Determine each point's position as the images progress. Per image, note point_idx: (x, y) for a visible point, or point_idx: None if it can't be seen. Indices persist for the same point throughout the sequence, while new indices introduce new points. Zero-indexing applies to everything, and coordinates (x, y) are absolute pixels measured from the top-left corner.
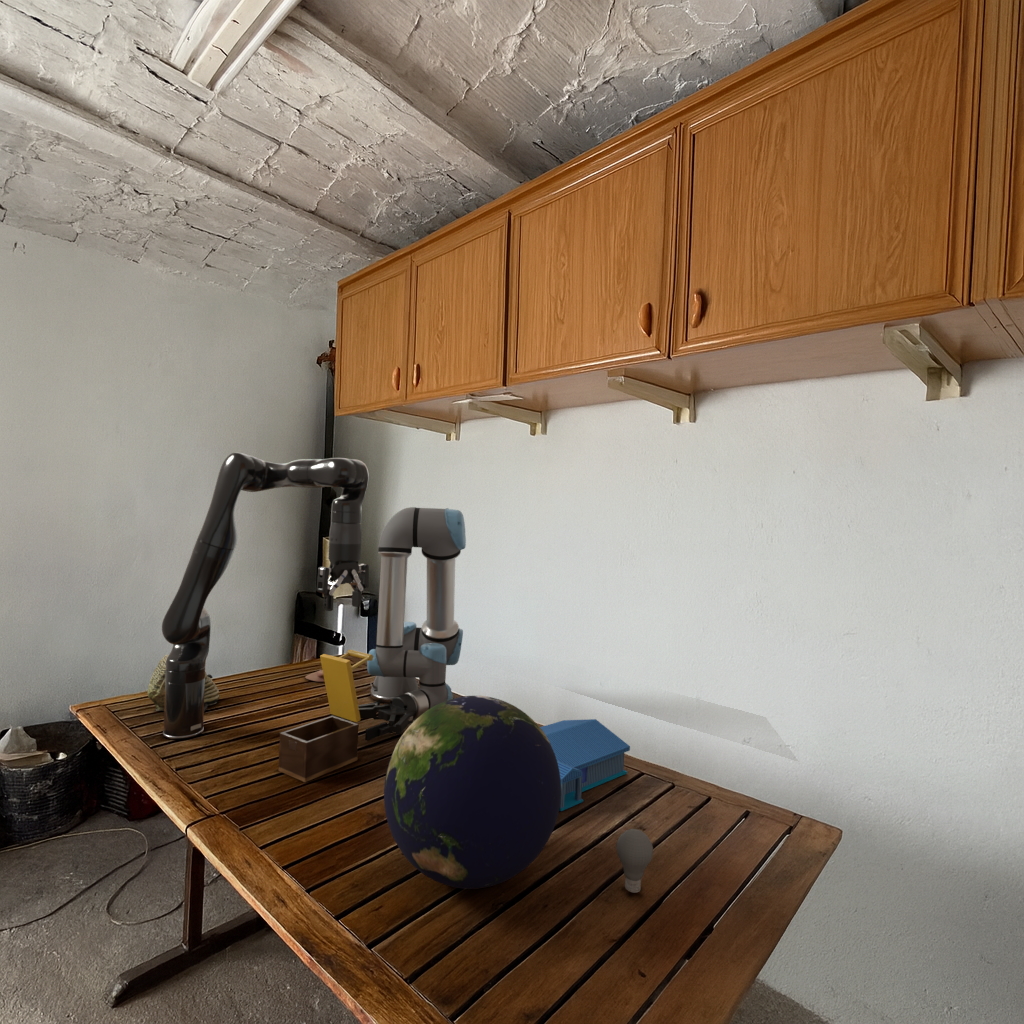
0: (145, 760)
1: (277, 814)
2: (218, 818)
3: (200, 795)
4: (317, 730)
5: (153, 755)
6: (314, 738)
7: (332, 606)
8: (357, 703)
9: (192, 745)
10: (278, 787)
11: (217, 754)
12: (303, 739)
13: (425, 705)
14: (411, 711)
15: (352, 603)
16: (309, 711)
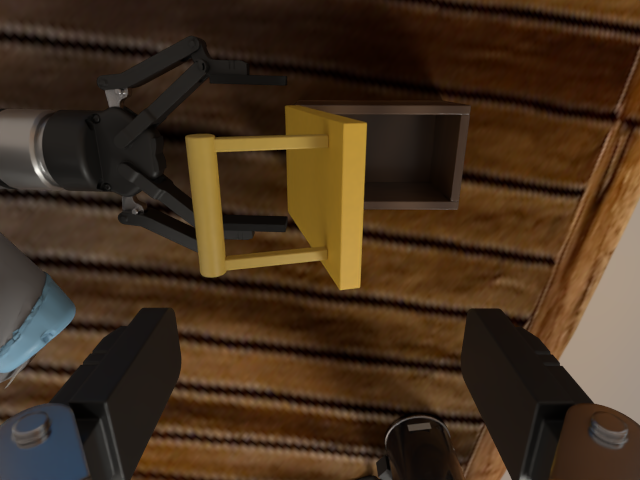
0: None
1: (574, 25)
2: (633, 103)
3: (579, 207)
4: None
5: None
6: None
7: (490, 325)
8: (298, 108)
9: (442, 387)
10: (486, 124)
11: (444, 328)
12: (388, 192)
13: (18, 109)
14: (80, 111)
15: (173, 379)
16: (193, 378)
